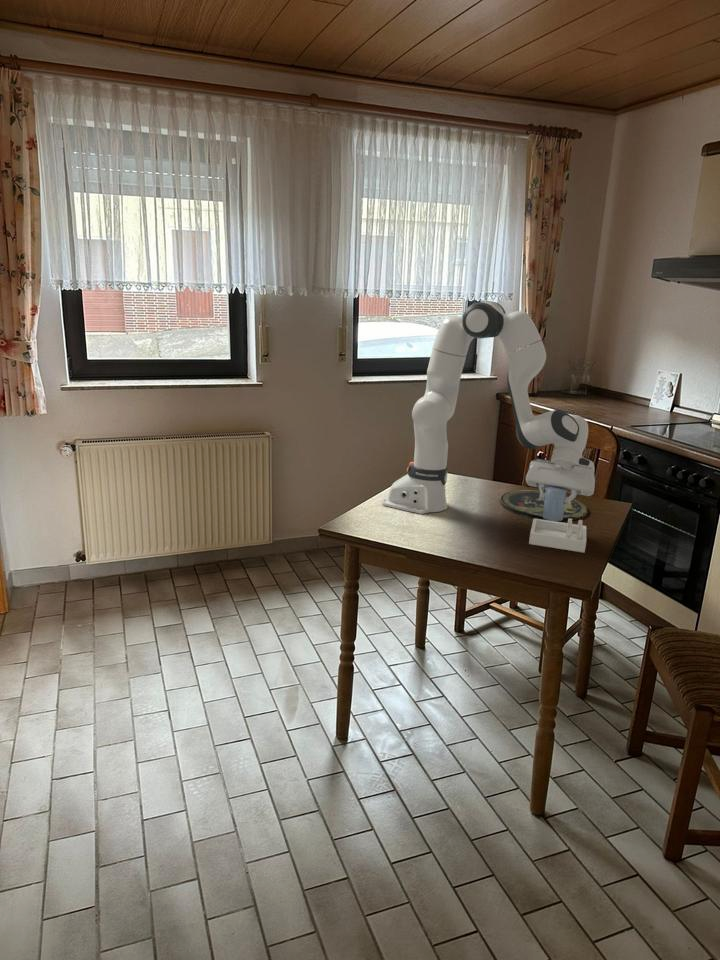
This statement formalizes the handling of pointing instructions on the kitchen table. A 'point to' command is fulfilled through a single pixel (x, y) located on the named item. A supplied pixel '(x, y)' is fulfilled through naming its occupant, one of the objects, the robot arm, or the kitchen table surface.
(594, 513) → the kitchen table surface
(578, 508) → the decorative plate
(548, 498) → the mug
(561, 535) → the white pegged tray
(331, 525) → the kitchen table surface
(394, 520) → the kitchen table surface
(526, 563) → the kitchen table surface
